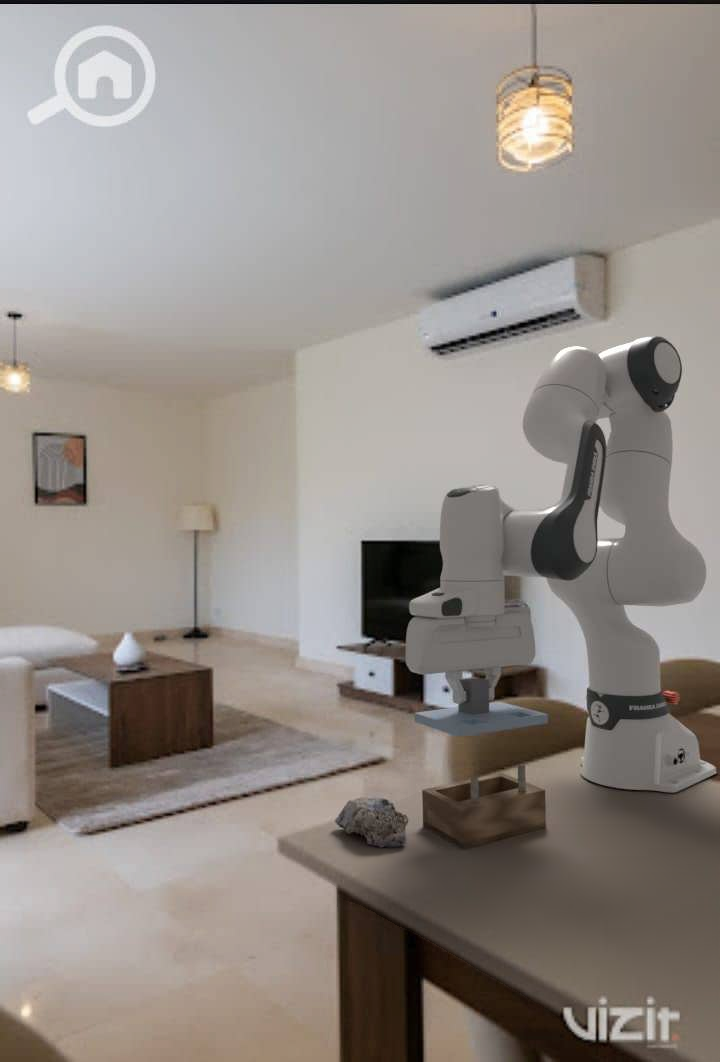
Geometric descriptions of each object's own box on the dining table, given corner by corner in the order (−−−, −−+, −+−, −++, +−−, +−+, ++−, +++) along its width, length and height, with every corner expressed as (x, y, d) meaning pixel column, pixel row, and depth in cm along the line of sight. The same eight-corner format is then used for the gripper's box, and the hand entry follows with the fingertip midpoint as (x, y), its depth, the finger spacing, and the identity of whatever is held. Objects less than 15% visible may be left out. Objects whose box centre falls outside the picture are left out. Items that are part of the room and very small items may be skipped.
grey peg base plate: (499, 709, 109) (499, 671, 110) (547, 723, 101) (547, 681, 101) (414, 721, 102) (414, 680, 102) (458, 737, 93) (457, 692, 94)
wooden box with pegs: (502, 807, 109) (501, 748, 109) (546, 826, 101) (544, 763, 101) (423, 826, 102) (421, 764, 102) (462, 849, 94) (461, 781, 94)
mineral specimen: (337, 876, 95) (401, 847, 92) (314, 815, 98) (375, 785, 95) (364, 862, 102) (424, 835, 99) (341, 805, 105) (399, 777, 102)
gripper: (515, 597, 111) (516, 690, 111) (398, 602, 101) (399, 705, 101) (544, 599, 105) (546, 697, 105) (425, 605, 95) (426, 713, 95)
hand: (473, 701), depth 103 cm, fingers closed on grey peg base plate, 3 cm apart
